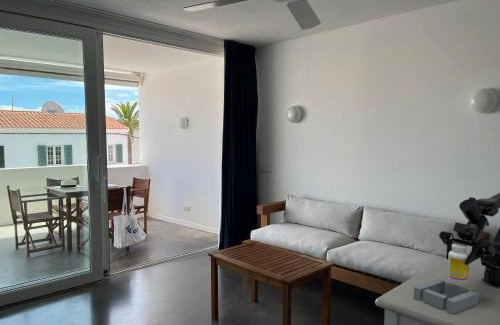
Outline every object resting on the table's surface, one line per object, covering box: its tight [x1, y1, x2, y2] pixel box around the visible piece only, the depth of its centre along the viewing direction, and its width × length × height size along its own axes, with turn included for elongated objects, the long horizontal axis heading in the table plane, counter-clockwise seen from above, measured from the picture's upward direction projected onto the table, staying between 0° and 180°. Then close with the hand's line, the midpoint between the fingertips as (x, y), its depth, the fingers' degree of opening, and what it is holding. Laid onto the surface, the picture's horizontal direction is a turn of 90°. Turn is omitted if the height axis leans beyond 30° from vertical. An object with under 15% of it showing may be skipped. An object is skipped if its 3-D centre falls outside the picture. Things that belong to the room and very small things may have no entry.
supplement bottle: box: [447, 243, 470, 284], centre depth 142 cm, size 7×7×13 cm
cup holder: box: [413, 278, 480, 315], centre depth 139 cm, size 15×15×4 cm
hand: (456, 261), depth 141 cm, fingers closed on supplement bottle, 7 cm apart
